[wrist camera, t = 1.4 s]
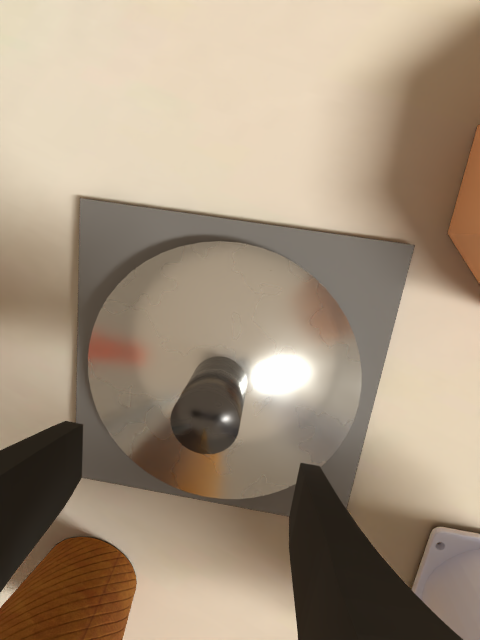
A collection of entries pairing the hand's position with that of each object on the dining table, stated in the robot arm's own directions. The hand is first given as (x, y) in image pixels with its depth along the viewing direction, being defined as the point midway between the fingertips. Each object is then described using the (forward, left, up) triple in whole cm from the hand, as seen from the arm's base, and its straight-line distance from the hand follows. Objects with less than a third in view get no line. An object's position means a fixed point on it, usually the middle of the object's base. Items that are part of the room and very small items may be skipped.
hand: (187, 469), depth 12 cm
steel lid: (0, 0, -8) cm, 8 cm away
